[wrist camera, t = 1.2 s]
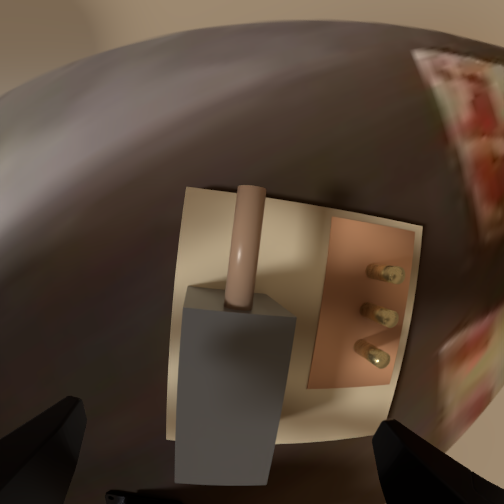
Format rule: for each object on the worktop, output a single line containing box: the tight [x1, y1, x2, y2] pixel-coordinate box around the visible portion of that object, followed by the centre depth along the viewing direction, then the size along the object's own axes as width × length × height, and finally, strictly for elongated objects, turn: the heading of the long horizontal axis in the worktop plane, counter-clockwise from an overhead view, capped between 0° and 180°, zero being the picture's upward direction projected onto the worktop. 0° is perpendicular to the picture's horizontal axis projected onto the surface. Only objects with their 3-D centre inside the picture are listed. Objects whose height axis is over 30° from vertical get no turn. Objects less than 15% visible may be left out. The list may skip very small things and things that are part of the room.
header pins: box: [353, 263, 405, 369], centre depth 18 cm, size 6×1×3 cm, turn 173°
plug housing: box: [175, 185, 297, 486], centre depth 15 cm, size 14×4×6 cm, turn 173°
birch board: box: [166, 187, 423, 444], centre depth 20 cm, size 16×16×2 cm
